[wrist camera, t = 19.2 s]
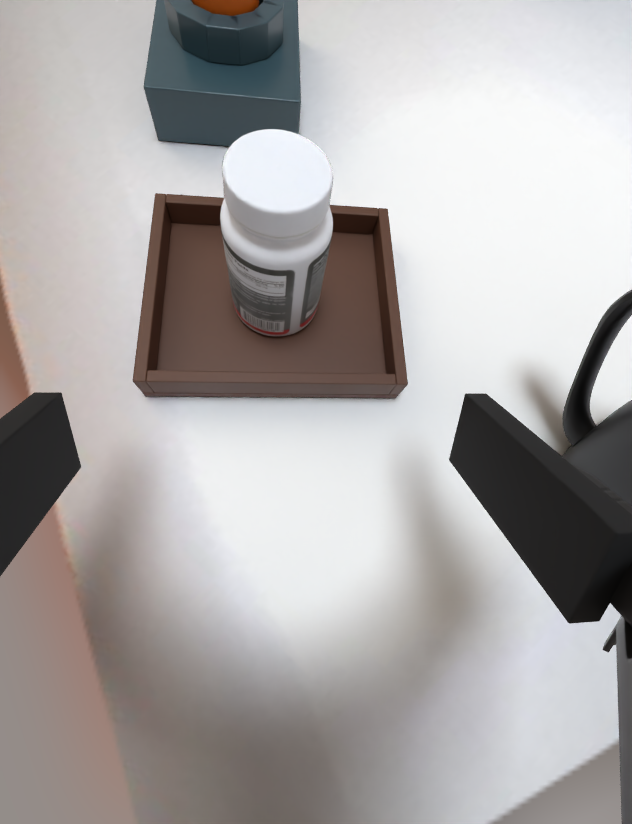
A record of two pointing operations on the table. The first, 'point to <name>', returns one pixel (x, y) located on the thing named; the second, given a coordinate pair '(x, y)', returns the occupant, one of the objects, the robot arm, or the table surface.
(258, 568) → the table surface
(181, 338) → the tray
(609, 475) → the mug
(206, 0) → the console button
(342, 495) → the table surface
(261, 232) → the pill bottle
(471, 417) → the robot arm
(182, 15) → the console
